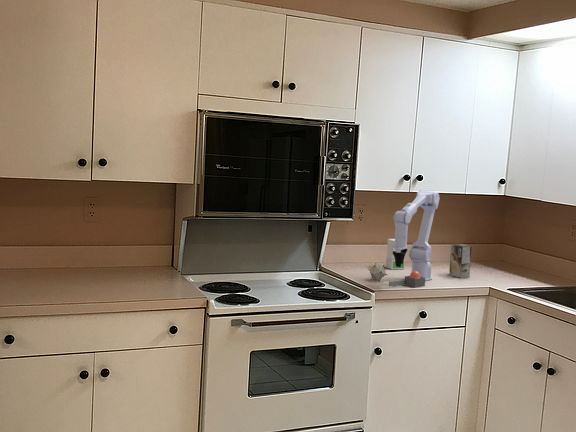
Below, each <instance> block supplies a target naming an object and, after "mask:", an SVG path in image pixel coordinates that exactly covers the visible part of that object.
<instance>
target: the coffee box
mask: <svg viewBox="0 0 576 432" xmlns="http://www.w3.org/2000/svg"><path fill="white" fill-rule="evenodd" d="M449 256H450V257H449V270H448V271H449V272H448V273H449V276H452V277H453V276H454V277H456V278H459V279H463V278H466V279H467V278H470V276H471V260H472V246H471V245H468V244H467V245H466V244H464V243H463V244H462V243H451V244H450V255H449Z"/></svg>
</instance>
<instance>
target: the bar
mask: <svg viewBox="0 0 576 432" xmlns="http://www.w3.org/2000/svg"><path fill="white" fill-rule="evenodd" d="M404 281H405V279H397V280H396V279H395V280H389V281H388V287H389V286H394V287H397V286H396V285H401V286H405V285H404Z"/></svg>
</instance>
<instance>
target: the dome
mask: <svg viewBox="0 0 576 432" xmlns="http://www.w3.org/2000/svg"><path fill="white" fill-rule="evenodd" d="M409 276H410V277H411V278H414V279H418V278H420V274H419V272H417V271H413V272H412V271H411V273H410V274H409Z"/></svg>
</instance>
